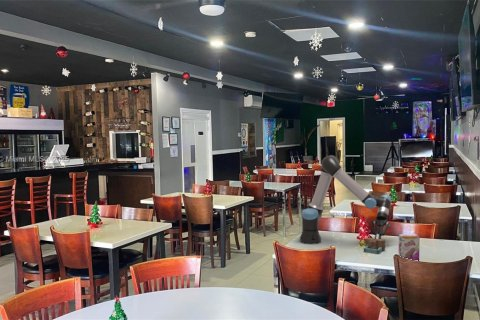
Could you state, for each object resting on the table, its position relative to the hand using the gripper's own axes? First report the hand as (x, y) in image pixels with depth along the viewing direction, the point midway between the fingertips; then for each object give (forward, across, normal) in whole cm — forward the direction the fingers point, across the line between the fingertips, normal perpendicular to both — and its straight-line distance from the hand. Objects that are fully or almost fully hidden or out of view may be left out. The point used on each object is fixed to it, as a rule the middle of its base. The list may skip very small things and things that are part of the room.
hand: (376, 243), depth 285 cm
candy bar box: (+18, -25, +12) cm, 33 cm away
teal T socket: (+9, 0, +4) cm, 9 cm away
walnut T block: (+7, 0, +2) cm, 7 cm away
